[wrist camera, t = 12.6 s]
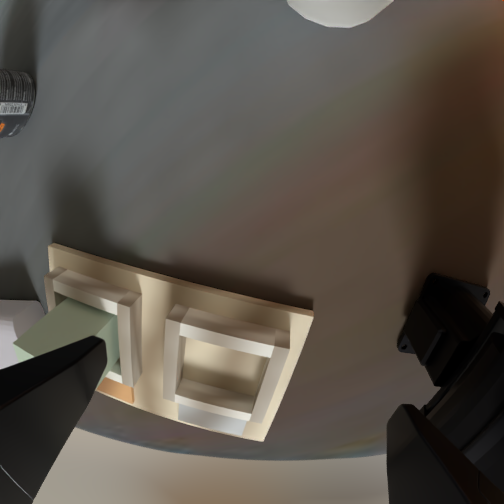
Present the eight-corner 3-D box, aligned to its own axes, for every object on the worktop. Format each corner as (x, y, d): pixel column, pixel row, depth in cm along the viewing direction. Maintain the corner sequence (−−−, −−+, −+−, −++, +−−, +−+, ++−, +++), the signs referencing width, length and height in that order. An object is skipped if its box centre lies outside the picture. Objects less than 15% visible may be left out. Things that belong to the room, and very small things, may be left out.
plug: (122, 307, 21) (62, 372, 13) (123, 351, 22) (76, 417, 15) (76, 290, 21) (12, 343, 13) (80, 334, 22) (28, 389, 15)
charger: (-21, 296, 26) (40, 297, 23) (5, 355, 28) (74, 372, 26) (-45, 312, 21) (9, 320, 19) (-14, 374, 24) (51, 399, 22)
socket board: (313, 310, 20) (315, 333, 17) (263, 435, 25) (261, 457, 22) (54, 242, 21) (32, 254, 18) (72, 373, 26) (59, 388, 23)
